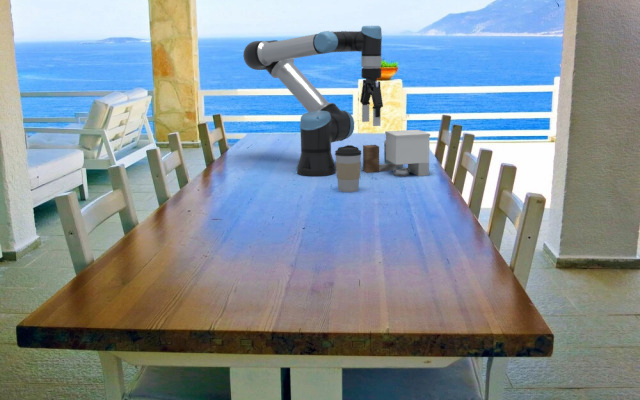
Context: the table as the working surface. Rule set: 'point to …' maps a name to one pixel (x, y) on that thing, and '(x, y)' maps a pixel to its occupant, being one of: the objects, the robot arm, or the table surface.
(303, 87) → the robot arm
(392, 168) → the wood grain block
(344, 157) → the coffee cup
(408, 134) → the cabinet
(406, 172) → the silver shallow dome
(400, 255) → the table surface
